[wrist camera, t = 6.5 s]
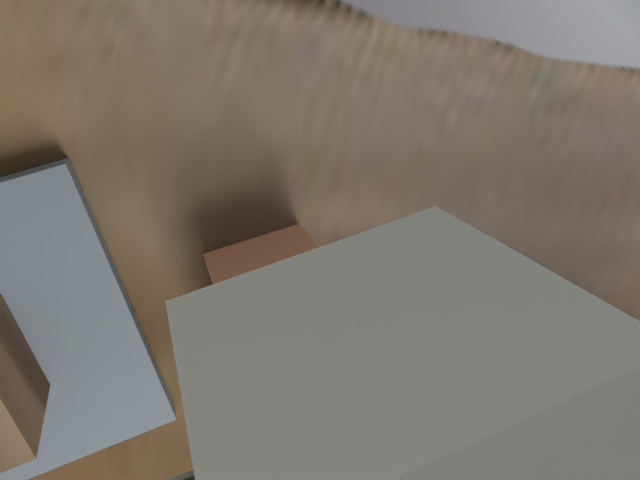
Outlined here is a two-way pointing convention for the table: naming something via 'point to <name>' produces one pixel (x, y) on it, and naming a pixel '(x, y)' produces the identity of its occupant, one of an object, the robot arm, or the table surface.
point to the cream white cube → (407, 365)
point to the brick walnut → (19, 395)
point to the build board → (74, 321)
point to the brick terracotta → (257, 252)
